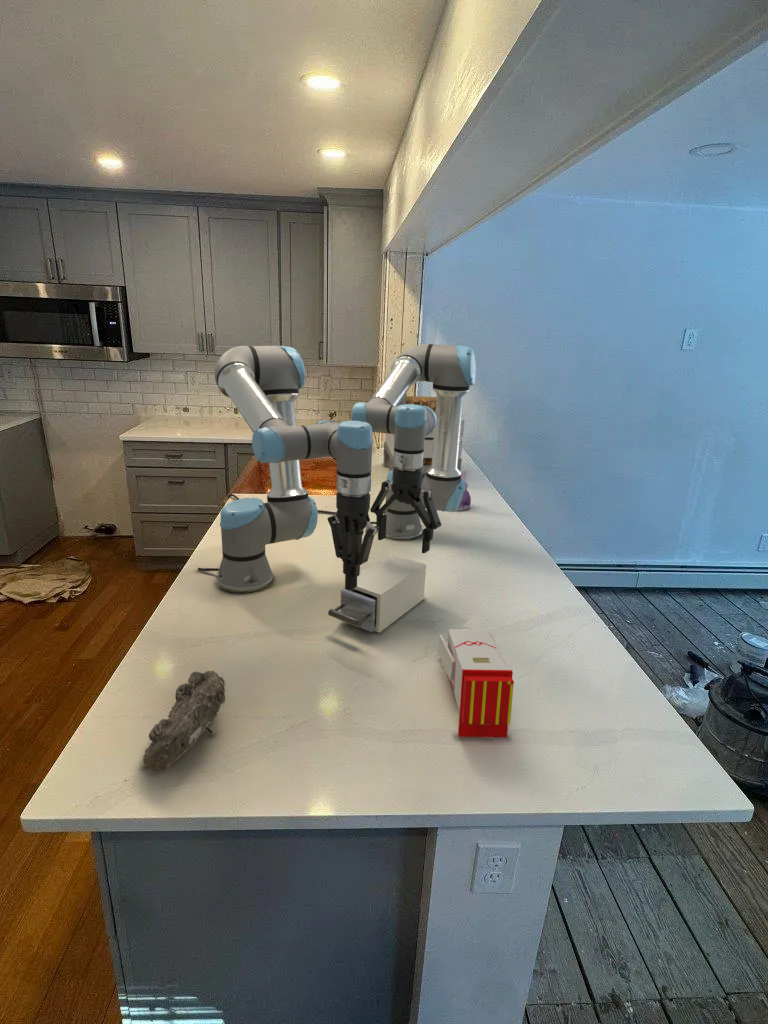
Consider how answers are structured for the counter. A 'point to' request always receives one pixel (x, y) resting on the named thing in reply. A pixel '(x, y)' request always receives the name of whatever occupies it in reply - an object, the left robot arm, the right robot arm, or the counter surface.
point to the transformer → (429, 438)
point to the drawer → (356, 609)
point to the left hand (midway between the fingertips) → (350, 587)
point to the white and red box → (478, 682)
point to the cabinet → (393, 587)
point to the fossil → (185, 719)
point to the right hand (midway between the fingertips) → (403, 545)
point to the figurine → (464, 496)
